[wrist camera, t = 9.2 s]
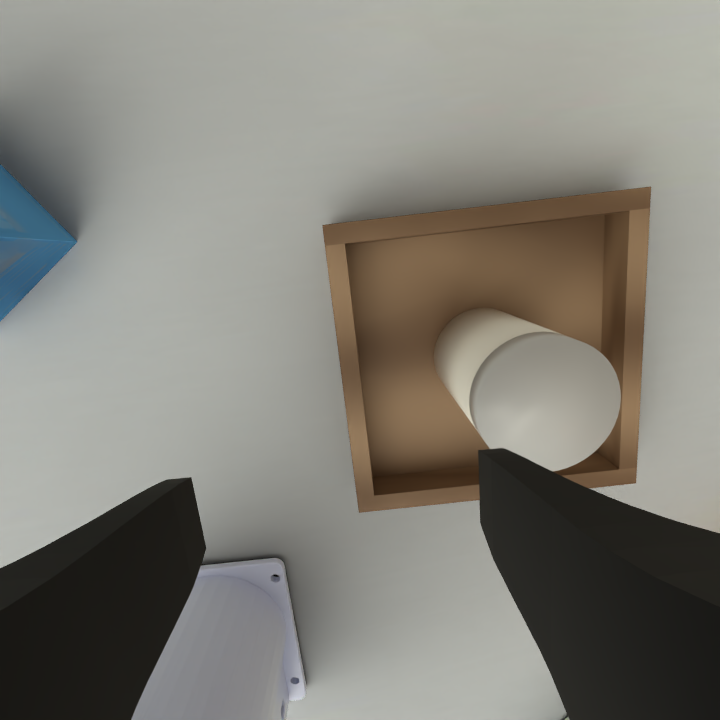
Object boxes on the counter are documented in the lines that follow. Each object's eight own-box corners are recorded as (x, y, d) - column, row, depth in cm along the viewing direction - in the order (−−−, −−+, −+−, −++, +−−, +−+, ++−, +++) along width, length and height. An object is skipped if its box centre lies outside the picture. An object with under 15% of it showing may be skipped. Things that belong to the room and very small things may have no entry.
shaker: (528, 392, 20) (618, 463, 13) (437, 403, 20) (481, 479, 13) (526, 302, 19) (623, 329, 12) (430, 314, 19) (474, 347, 12)
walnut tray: (608, 460, 22) (635, 483, 19) (358, 487, 22) (359, 512, 20) (616, 195, 18) (651, 186, 16) (326, 228, 19) (322, 225, 17)
